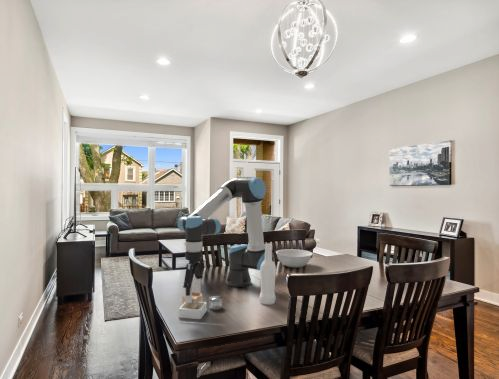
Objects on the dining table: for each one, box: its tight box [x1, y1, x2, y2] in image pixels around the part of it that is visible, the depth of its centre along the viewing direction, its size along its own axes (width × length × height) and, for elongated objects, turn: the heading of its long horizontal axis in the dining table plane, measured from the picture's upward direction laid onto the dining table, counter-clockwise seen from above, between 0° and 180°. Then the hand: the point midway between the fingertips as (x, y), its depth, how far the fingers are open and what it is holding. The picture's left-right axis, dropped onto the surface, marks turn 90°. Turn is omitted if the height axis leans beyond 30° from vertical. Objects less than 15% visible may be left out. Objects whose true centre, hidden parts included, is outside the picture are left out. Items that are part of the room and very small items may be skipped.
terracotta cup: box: [181, 291, 203, 306], centre depth 165 cm, size 9×9×6 cm
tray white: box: [178, 301, 208, 320], centre depth 153 cm, size 10×10×5 cm
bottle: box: [259, 242, 277, 306], centre depth 171 cm, size 8×8×30 cm
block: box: [187, 296, 199, 309], centre depth 153 cm, size 4×4×8 cm
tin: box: [208, 295, 223, 311], centre depth 161 cm, size 6×6×5 cm
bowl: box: [275, 248, 314, 269], centre depth 250 cm, size 27×27×10 cm
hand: (193, 297), depth 152 cm, fingers open, 13 cm apart
